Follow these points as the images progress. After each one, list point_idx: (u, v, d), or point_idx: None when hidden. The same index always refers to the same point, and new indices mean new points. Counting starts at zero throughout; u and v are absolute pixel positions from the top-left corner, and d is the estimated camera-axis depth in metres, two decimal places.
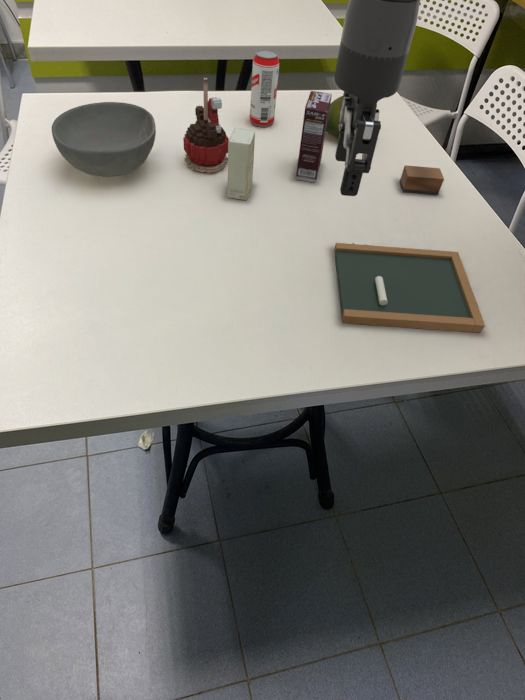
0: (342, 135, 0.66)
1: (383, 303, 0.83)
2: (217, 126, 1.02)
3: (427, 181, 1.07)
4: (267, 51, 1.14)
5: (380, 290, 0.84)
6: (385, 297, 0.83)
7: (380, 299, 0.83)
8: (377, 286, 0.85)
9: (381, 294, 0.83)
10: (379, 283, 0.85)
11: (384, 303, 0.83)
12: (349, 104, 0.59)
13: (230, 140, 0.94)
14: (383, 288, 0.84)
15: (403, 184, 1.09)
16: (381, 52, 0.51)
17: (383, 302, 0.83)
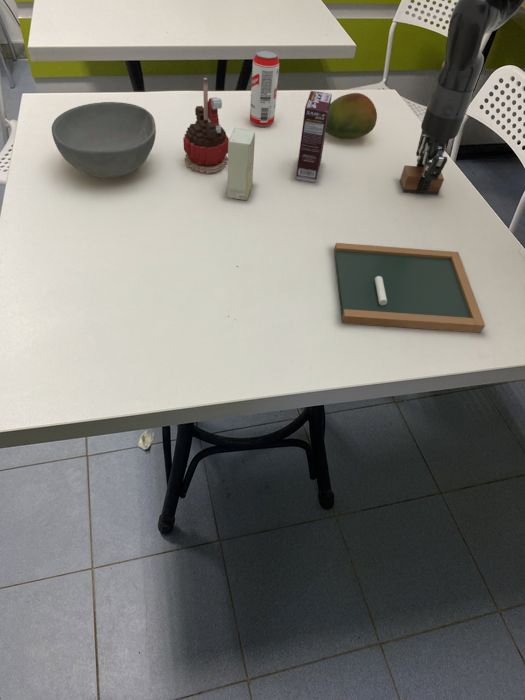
0: (419, 165, 1.09)
1: (383, 303, 0.83)
2: (217, 126, 1.02)
3: None
4: (267, 51, 1.14)
5: (379, 290, 0.84)
6: (384, 297, 0.83)
7: (379, 299, 0.83)
8: (376, 286, 0.85)
9: (380, 294, 0.83)
10: (378, 283, 0.85)
11: (384, 303, 0.83)
12: (428, 140, 1.03)
13: (230, 140, 0.94)
14: (382, 288, 0.84)
15: (403, 184, 1.09)
16: (451, 116, 0.95)
17: (383, 302, 0.83)
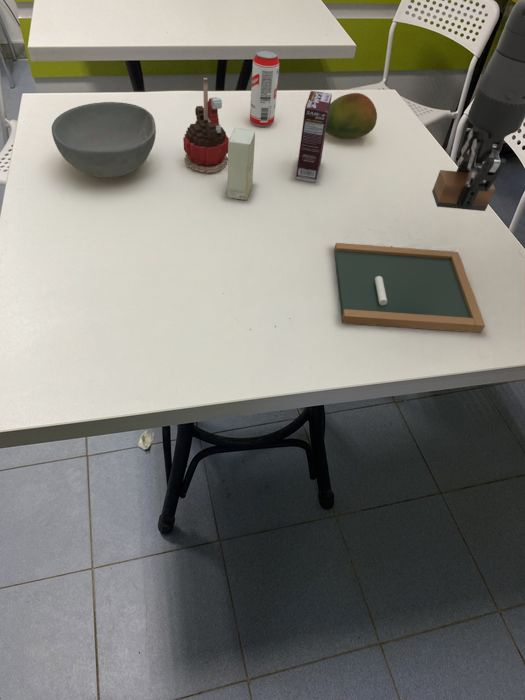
0: (460, 170, 0.80)
1: (383, 303, 0.83)
2: (217, 126, 1.02)
3: None
4: (267, 51, 1.14)
5: (380, 290, 0.84)
6: (385, 297, 0.83)
7: (380, 299, 0.83)
8: (377, 286, 0.85)
9: (381, 294, 0.83)
10: (379, 283, 0.85)
11: (384, 303, 0.83)
12: (476, 135, 0.74)
13: (230, 140, 0.94)
14: (383, 288, 0.84)
15: (438, 196, 0.80)
16: (516, 100, 0.65)
17: (383, 302, 0.83)
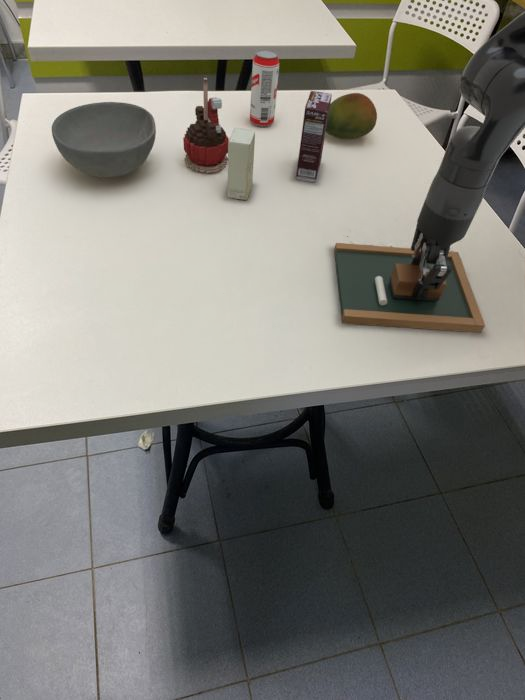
0: (414, 263, 0.84)
1: (383, 303, 0.83)
2: (217, 126, 1.02)
3: None
4: (267, 51, 1.14)
5: (380, 290, 0.84)
6: (385, 297, 0.83)
7: (380, 299, 0.83)
8: (377, 286, 0.85)
9: (381, 294, 0.83)
10: (379, 283, 0.85)
11: (384, 303, 0.83)
12: (426, 237, 0.78)
13: (230, 140, 0.94)
14: (383, 288, 0.84)
15: (393, 288, 0.84)
16: (458, 217, 0.70)
17: (383, 302, 0.83)
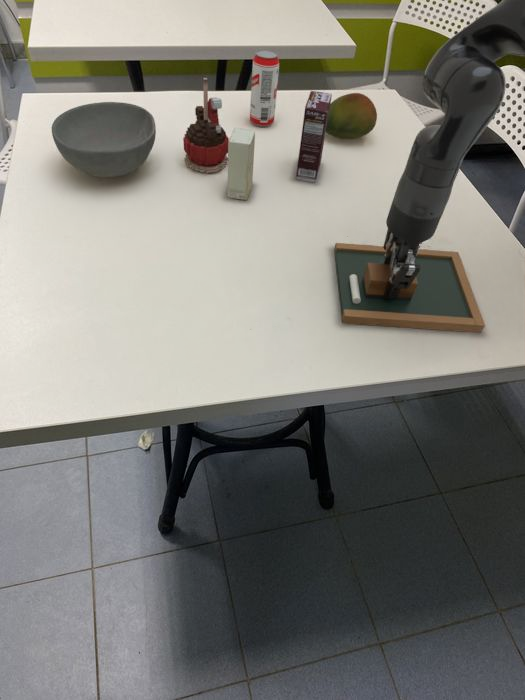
0: (387, 262, 0.84)
1: (356, 301, 0.83)
2: (217, 126, 1.02)
3: None
4: (267, 51, 1.14)
5: (353, 288, 0.84)
6: (358, 295, 0.83)
7: (353, 298, 0.83)
8: (351, 285, 0.85)
9: (354, 292, 0.83)
10: (352, 281, 0.85)
11: (357, 301, 0.83)
12: (396, 236, 0.78)
13: (230, 140, 0.94)
14: (356, 286, 0.84)
15: (366, 287, 0.84)
16: (425, 216, 0.70)
17: (356, 300, 0.83)
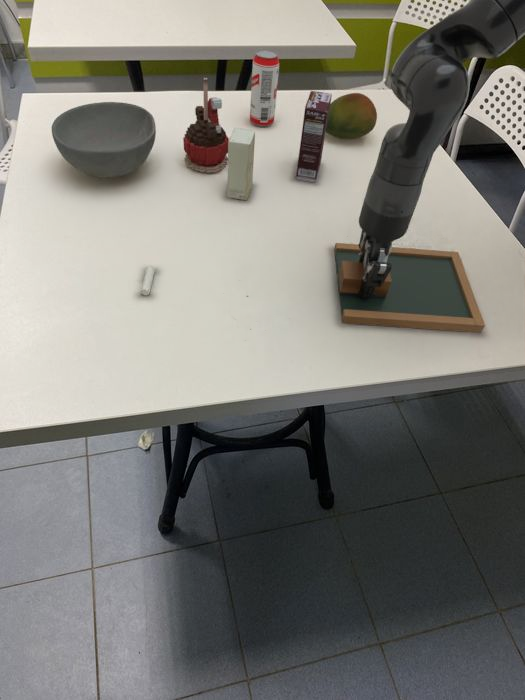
0: (361, 261, 0.84)
1: (146, 292, 0.82)
2: (217, 126, 1.02)
3: None
4: (267, 51, 1.14)
5: None
6: (142, 288, 0.82)
7: None
8: None
9: None
10: None
11: (145, 291, 0.82)
12: (369, 235, 0.78)
13: (230, 140, 0.94)
14: (144, 279, 0.84)
15: (340, 285, 0.84)
16: (395, 214, 0.70)
17: (144, 292, 0.82)
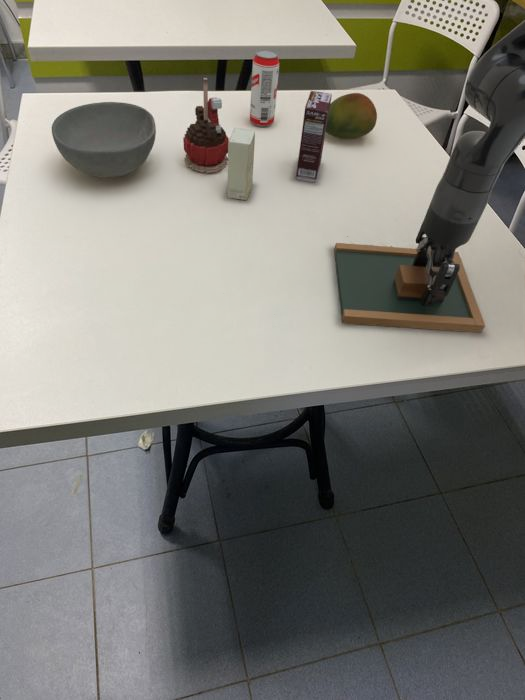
0: (419, 255, 0.85)
1: (81, 476, 1.48)
2: (217, 126, 1.02)
3: None
4: (267, 51, 1.14)
5: None
6: None
7: None
8: (74, 487, 1.46)
9: None
10: None
11: (81, 476, 1.48)
12: (430, 242, 0.79)
13: (230, 140, 0.94)
14: None
15: (398, 289, 0.85)
16: (463, 221, 0.71)
17: None
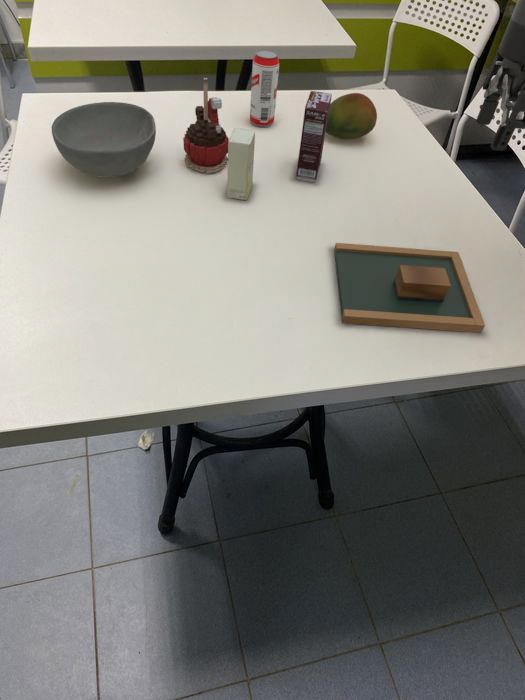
0: (487, 101, 0.79)
1: None
2: (217, 126, 1.02)
3: (428, 288, 0.83)
4: (267, 51, 1.14)
5: None
6: (77, 477, 1.48)
7: (78, 477, 1.49)
8: (73, 488, 1.46)
9: (77, 480, 1.48)
10: (73, 489, 1.46)
11: (76, 475, 1.48)
12: (505, 73, 0.72)
13: (230, 140, 0.94)
14: (75, 484, 1.46)
15: (398, 289, 0.85)
16: None
17: None
